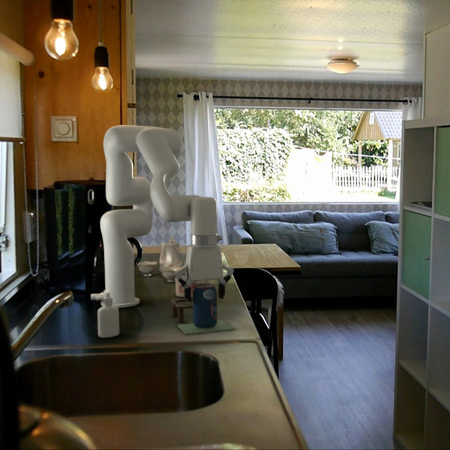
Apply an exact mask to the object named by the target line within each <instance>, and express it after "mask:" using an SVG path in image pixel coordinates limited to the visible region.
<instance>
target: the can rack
mask: <svg viewBox="0 0 450 450" xmlns="http://www.w3.org/2000/svg"><path fill="white" fill-rule="evenodd" d="M186 302H188V301H187V300H186V299H185V298H176V299H169V303H170V304H171V314H172V315H171V316H172V318H173V317H174V318H175V317H176V318H177V317H178V319H177V320H178V321H177V322H178V323H179V324H184V322H185V315H184V314H185V313H184V312H185V311H184V310H186V309H193V304H190V305H189V304H187V305H183V304H178V303H186ZM191 302H193V297H191Z"/></svg>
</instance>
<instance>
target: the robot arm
mask: <svg viewBox="0 0 450 450" xmlns="http://www.w3.org/2000/svg"><path fill="white" fill-rule="evenodd" d="M102 145H103V153H104V156H105V163H106V167H105V199H106V201H107V203H108V204H109V205H110V206H114V207H124V206H125V207H127V206H129V207H130V206H133V208H126V209H113V210H109V211H106V212H104V214H102V216H101V217H100V221H99V224H100V225H99V226H100V232H101V235H102V241H103V253H104V255H103V257H104V284H105V285H104V286H105V287H104V288H105V289H104V290H103V291H102V292H100V293H91V294H90V299H91V301H95V300H96V301H100V306H101V307H103V306H104V305H103V298H105V297H106V293H109V295H110V297H112V302H113V305H112V306H116V307H117V308H118V309H120V308H121V309H123V308H130V307H135V306H137V305H139V304H140V302H141V300H140V298H138V297H136V291H135V290H136V289H135V287H136V285H135V253H134V249H133V246H132V244H131V243H130V241H129V240H128V239H130V238H139V237H144V236H147V235H149V234H150V232H151V230H152V228H153V222H154V221H153V220H154V208H155V210H156V212H157V214H158V215H159V216H160V218H161V219H162V220H163V221H165V222H167V223H179V222H181V223H182V222H190V244H188V245H187V248H186V249H187V250H186V259H185V263H186V266H185V265H184V266H185V267H183V268H182V269H180V270H178V271H177V272H175V273H174V274H175V276H176V278H177V280H178V282H179V283H181V284H182V285H183V286H184V297H183V299H186V300H187V302H188V303H191V302H192V301H191V298H192V297H191V288H190V285H191V284H192V282H193V281H200V282H201V281H202V282H203V281H205V282H206V280H209V281H214V280H215V281H216V280H217V281H218V282H219V283H218V285H217V298H219V299H220V300H224V299H225V296H226V286H227V283H228V282H229V281H230V280H231V279H232V276H233V274H234V272H235V270H234V268H232V267H230V266H227V265H226V264H223V256H222V250H221V246H220V245H221V244H219V242H220V241H223V235H219V234H218V202H217V201H218V200H217V199H216V198H215V197H211V196H201V195H197V194H189V195H186V194H185V195H183V194H182V195H171V193H170V192H169V190H168V189H167V188H168V187H166V186H167V185H166V182H168V181H169V180H171V179H173V178H174V177H176V175H177V174H178V173H179V171H180V163H179V161H178V159H177V158H176V155H178V154H180V153H181V152H182V149H183V139H182V137H181V135H180V133H179V132H178V131H177V130H175V129H173V128H166V127H159V126H151V125H127V124H125V125H124V124H120V125H114V126H111V127H109V128H108V129H107V130H106V132H105V134H104V137H103V143H102ZM129 153H140V154H141V156H142V157H143V160H144V161H145V163H146V165H147V167H148V168H149V170H150V172H151V174H152V179H151V181H150V180H149V179H148V178H146V177H145V176H134V163H133V161H132V158H131V156H130V155H129ZM224 271H226V274H225V275H224ZM185 272H186V277H187V279H186V280H185V281H184V280H183V279H182V277H181V275H182V274H183V273H185ZM223 275H224V276H223Z"/></svg>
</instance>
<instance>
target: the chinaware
mask: <svg viewBox="0 0 450 450" xmlns="http://www.w3.org/2000/svg"><path fill="white" fill-rule="evenodd" d="M180 244H181V243H179V242H177V241H176V240H175V239H174V238H173V237H172V236H171V237H170V239H169V240H168V241H167V243H164V241H163V242H160V245H161V252H160V255H159V268H158V271H159V273H160V274H161V276H162V278H164V279H166V280H167V283H176V276H175V274H174V273H175V270H176V269H179V268H181V267H182V266H185V262H186V256H187V251H186V250H185V248H184V247H182V246H180ZM180 250H182V252H183V259H181V256H180ZM138 262H139V261H138ZM136 265H137V267H138V270H139V272H140V273H141V274H143V275H142V276H143V277H151V276H152V274H153V273H154V272H155V271H156V268H157V265H158V262H157V261H151V262H150V261H148V260H144V261H142V262H139V263H138V264H137V263H136Z"/></svg>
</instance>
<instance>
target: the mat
mask: <svg viewBox="0 0 450 450" xmlns="http://www.w3.org/2000/svg"><path fill="white" fill-rule="evenodd" d="M176 326H177V327H178V328H179V329H180V331H182V332H183V334H184V335H186V336H187V335H195V334H196V335H197V334H206V333H215V332H227V331H234V330H235V328H234V327H233V326H231V325H230V324H229V323H228V322H226V321H225V320H224V319H222V320H217V323H216V325H215V327H214V328H210V329H199V328H196V327H195V325H194V324H193V322H192V323H180V324H177V325H176Z"/></svg>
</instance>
